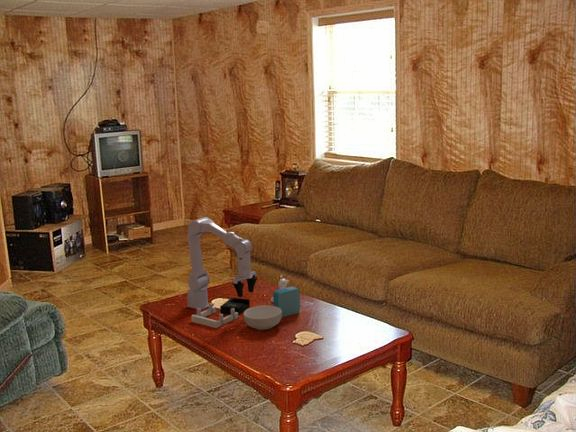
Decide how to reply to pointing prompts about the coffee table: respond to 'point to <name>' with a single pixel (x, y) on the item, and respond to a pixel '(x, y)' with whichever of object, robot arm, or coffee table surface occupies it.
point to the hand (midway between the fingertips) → (245, 294)
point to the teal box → (287, 300)
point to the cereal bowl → (262, 316)
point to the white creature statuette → (281, 285)
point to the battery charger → (235, 305)
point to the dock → (209, 322)
